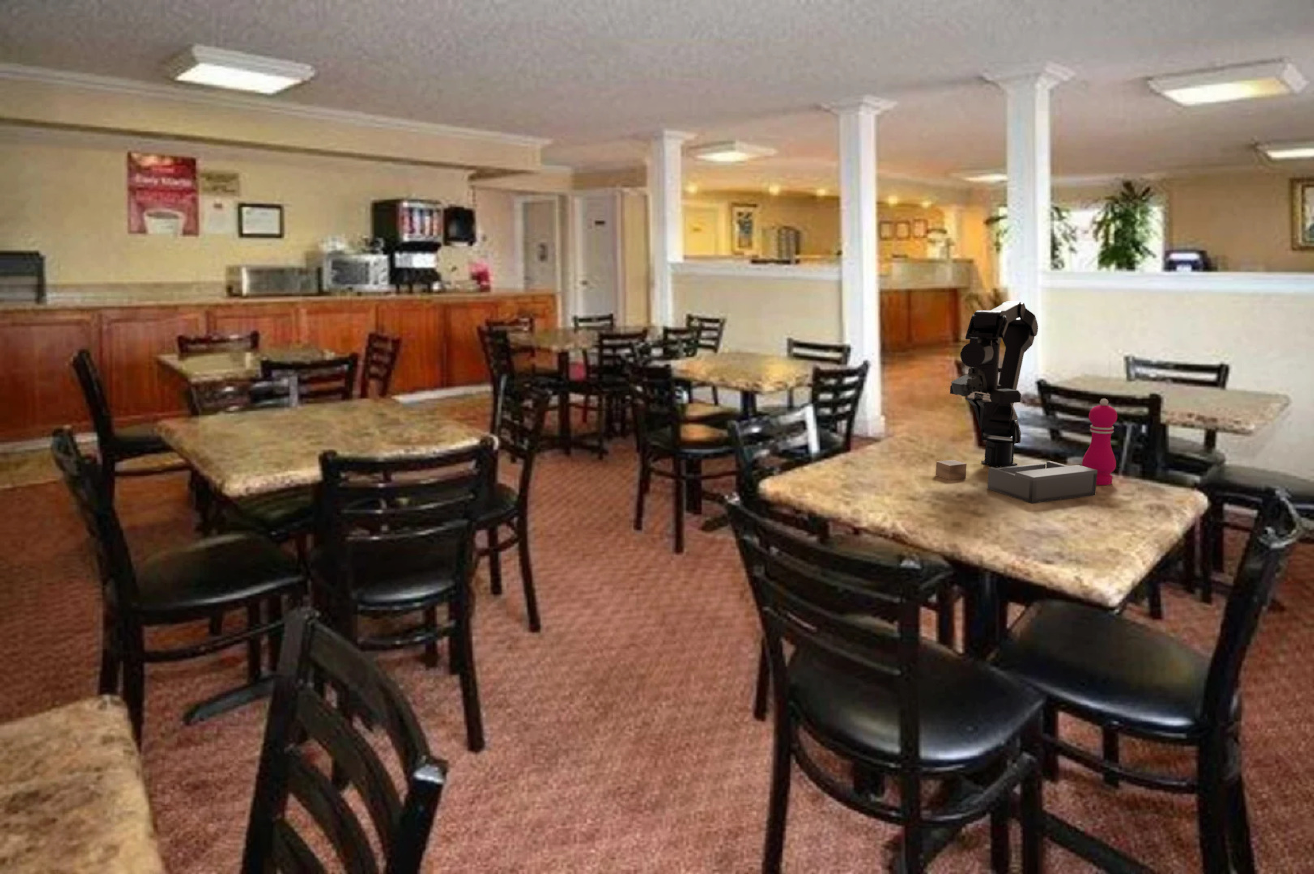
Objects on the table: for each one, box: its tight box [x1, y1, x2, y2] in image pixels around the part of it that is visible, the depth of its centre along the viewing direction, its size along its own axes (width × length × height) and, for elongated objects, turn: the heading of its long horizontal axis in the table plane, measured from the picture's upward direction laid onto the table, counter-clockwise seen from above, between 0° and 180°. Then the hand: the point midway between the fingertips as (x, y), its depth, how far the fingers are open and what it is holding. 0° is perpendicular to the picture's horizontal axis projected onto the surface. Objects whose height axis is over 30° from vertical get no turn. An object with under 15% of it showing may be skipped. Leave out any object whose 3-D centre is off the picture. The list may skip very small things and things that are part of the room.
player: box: [986, 460, 1097, 504], centre depth 208 cm, size 18×14×6 cm
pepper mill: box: [1081, 398, 1118, 486], centre depth 215 cm, size 7×7×20 cm
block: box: [935, 459, 967, 481], centre depth 224 cm, size 5×5×4 cm
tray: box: [995, 462, 1046, 474], centre depth 210 cm, size 16×14×3 cm
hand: (982, 427), depth 222 cm, fingers closed
